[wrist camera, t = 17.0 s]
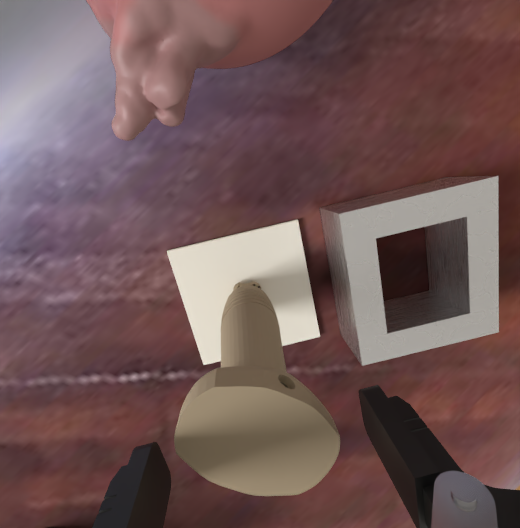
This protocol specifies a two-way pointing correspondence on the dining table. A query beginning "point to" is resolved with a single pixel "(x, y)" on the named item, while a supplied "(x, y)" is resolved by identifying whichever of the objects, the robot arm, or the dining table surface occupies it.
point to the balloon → (189, 47)
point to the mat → (245, 271)
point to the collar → (438, 263)
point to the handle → (255, 410)
